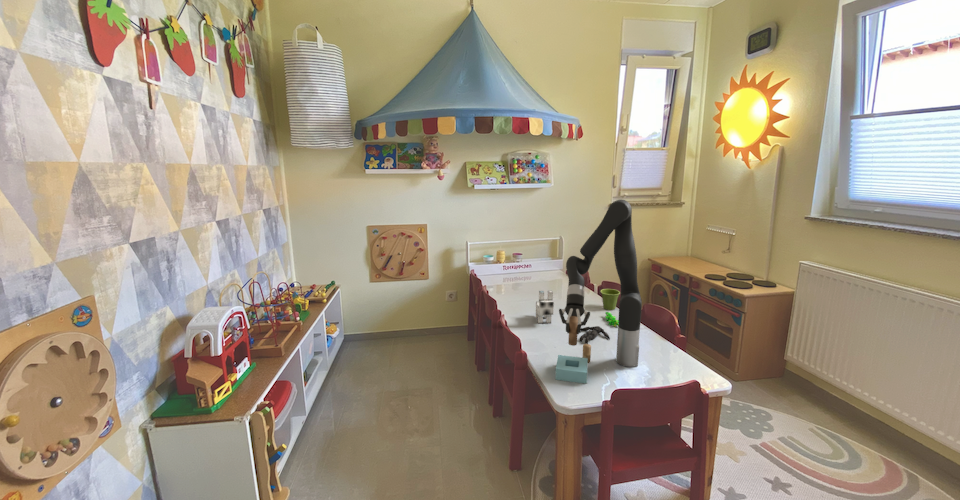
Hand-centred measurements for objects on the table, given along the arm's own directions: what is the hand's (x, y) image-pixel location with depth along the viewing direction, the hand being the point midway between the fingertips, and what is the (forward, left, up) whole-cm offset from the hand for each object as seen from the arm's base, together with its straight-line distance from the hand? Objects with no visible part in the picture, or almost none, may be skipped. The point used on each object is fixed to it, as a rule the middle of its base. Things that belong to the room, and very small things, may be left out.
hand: (573, 333), depth 165 cm
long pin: (0, -2, -6) cm, 6 cm away
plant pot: (-19, -90, -20) cm, 94 cm away
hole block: (0, -2, -20) cm, 20 cm away
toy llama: (+19, -59, -20) cm, 65 cm away
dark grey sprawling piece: (-9, -44, -21) cm, 49 cm away
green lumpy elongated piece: (-20, -67, -21) cm, 73 cm away
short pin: (-6, -15, -20) cm, 26 cm away
